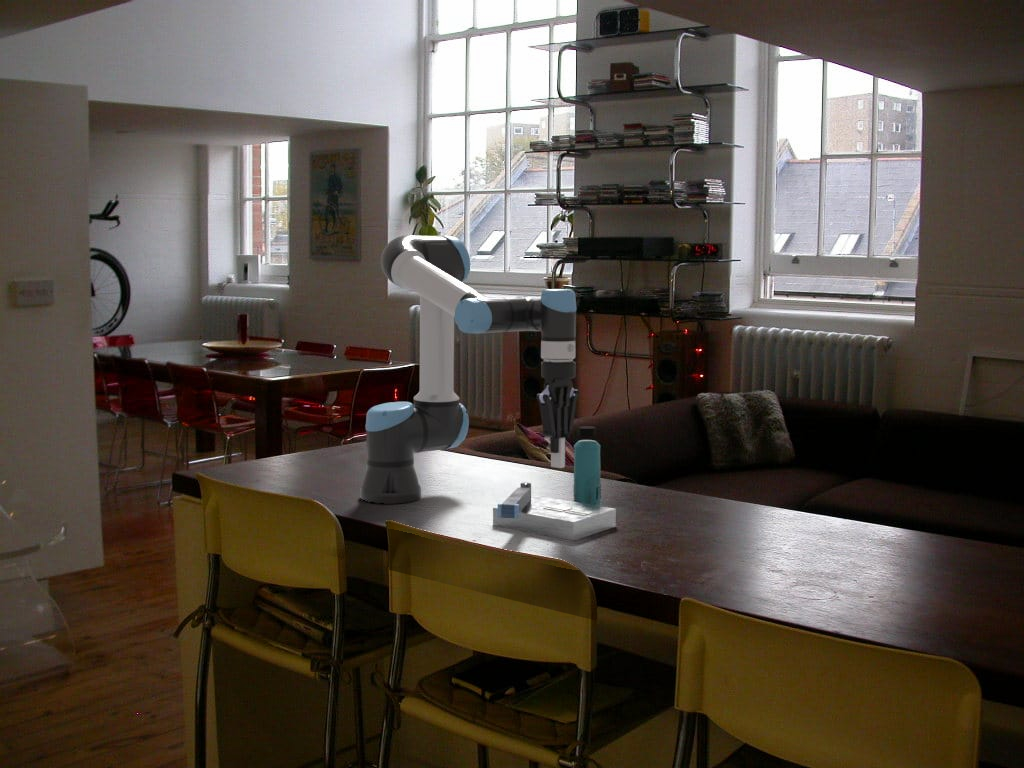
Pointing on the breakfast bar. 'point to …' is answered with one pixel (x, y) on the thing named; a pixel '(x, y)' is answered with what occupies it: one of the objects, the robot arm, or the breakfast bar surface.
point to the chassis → (559, 518)
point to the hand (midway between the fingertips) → (557, 466)
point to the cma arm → (514, 503)
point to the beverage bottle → (587, 468)
